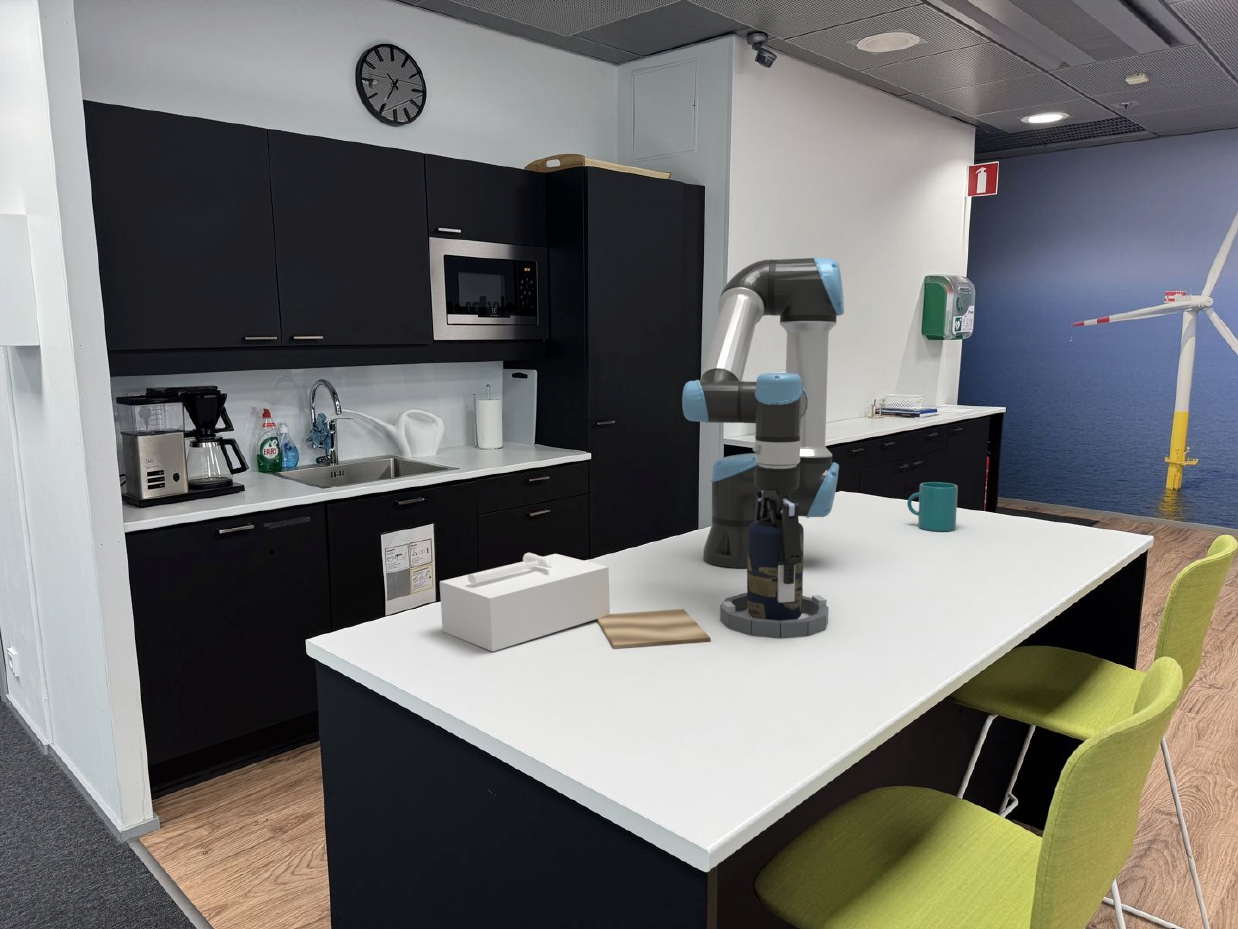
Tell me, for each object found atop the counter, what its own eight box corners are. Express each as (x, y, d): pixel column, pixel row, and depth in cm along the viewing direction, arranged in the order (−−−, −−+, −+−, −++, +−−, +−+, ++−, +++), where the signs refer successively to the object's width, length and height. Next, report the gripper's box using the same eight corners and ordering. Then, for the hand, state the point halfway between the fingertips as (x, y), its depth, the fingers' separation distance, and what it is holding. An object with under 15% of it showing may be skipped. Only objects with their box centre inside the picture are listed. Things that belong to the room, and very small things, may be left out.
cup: (910, 522, 239) (912, 480, 238) (958, 526, 233) (960, 483, 232) (902, 528, 231) (904, 485, 230) (952, 533, 226) (954, 489, 224)
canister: (776, 631, 151) (778, 525, 149) (735, 617, 159) (736, 516, 156) (813, 619, 157) (816, 517, 155) (771, 606, 165) (773, 509, 162)
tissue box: (609, 614, 159) (608, 553, 158) (492, 651, 142) (489, 583, 141) (557, 598, 170) (555, 541, 168) (442, 631, 153) (438, 568, 151)
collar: (708, 608, 165) (708, 590, 164) (801, 602, 168) (802, 584, 168) (741, 641, 147) (742, 620, 147) (845, 633, 151) (845, 612, 150)
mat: (595, 618, 160) (595, 615, 159) (683, 612, 163) (683, 609, 163) (613, 648, 144) (613, 645, 144) (710, 641, 147) (710, 637, 147)
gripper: (734, 456, 164) (733, 577, 167) (780, 476, 142) (778, 613, 146) (773, 455, 165) (771, 574, 169) (825, 474, 144) (821, 610, 147)
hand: (774, 592), depth 157 cm, fingers closed on canister, 9 cm apart
